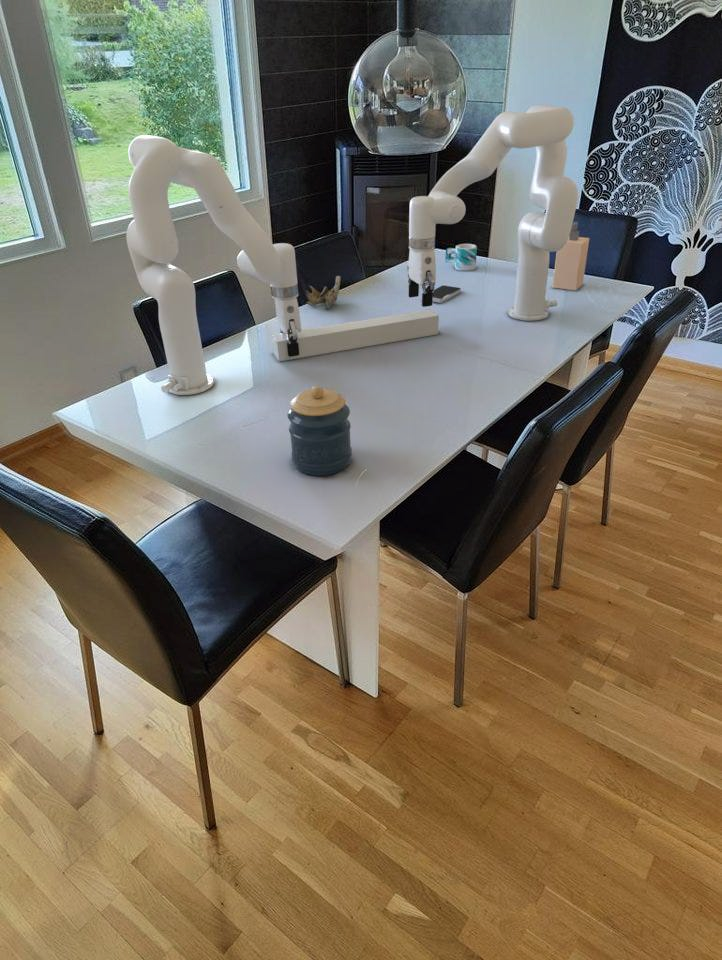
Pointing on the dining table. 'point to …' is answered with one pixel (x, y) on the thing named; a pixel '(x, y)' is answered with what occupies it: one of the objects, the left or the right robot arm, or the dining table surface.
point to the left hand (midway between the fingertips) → (290, 350)
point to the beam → (358, 334)
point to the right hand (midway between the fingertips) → (420, 301)
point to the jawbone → (324, 295)
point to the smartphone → (444, 293)
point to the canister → (320, 432)
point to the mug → (463, 256)
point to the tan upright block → (571, 261)
